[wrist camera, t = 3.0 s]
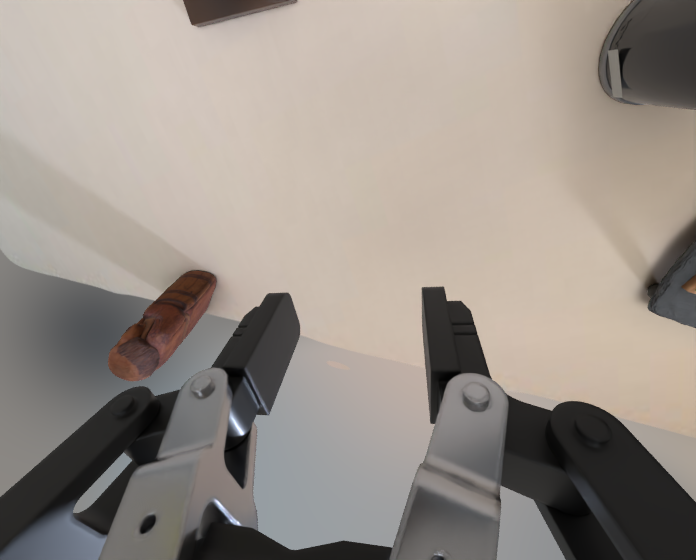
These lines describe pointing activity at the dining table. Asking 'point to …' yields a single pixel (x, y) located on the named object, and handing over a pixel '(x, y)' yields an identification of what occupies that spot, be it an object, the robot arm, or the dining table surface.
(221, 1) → the rod stand
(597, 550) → the robot arm
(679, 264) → the serving tray
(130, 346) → the wooden figurine
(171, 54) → the dining table surface
